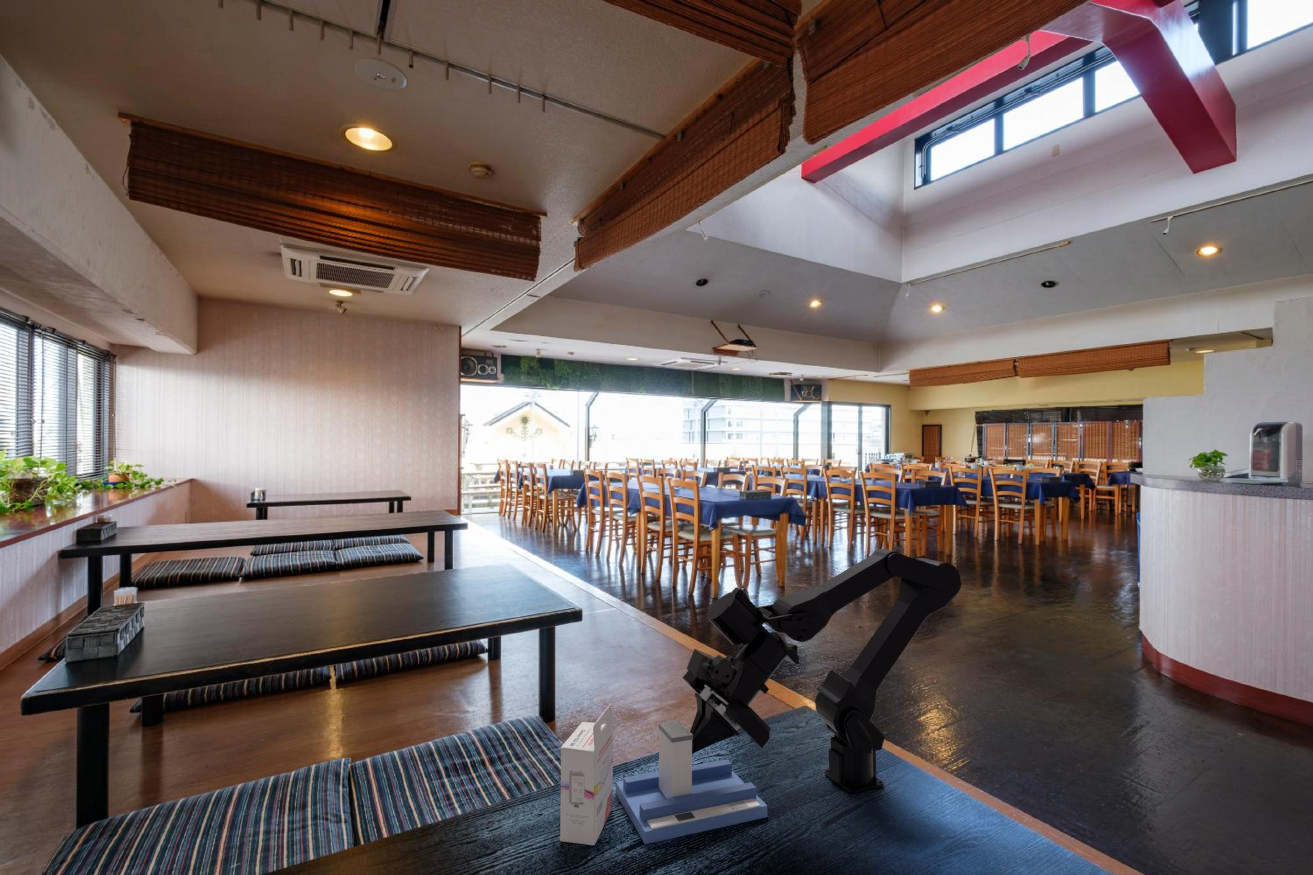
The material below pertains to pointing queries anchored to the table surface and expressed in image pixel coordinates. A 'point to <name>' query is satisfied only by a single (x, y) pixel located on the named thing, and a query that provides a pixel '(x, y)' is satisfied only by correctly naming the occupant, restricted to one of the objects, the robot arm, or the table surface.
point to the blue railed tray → (690, 803)
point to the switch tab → (675, 759)
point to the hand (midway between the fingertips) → (686, 751)
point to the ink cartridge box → (587, 780)
